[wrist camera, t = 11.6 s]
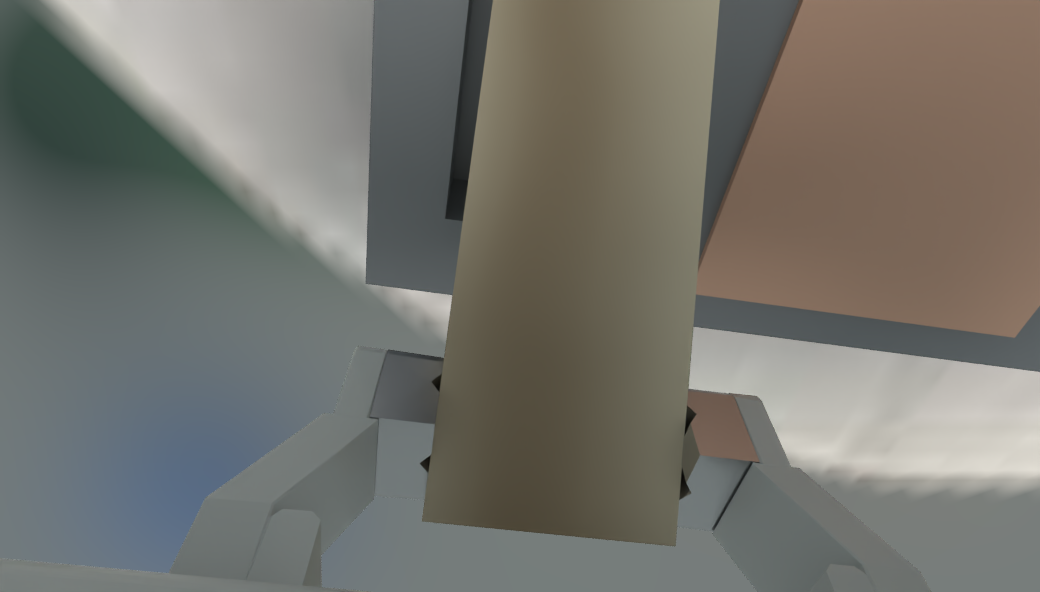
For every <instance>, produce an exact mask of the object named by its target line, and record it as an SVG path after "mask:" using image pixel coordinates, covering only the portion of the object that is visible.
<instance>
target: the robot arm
mask: <svg viewBox="0 0 1040 592" xmlns="http://www.w3.org/2000/svg"><path fill="white" fill-rule="evenodd" d="M443 362H444V358H441V357H434V356H428V355H421V354H414V353H408V352H400V351H394V350H388V351H387V350H384V349H377V348H371V347H364V346H357V348H356V349H355V351H354V353H353V356H352V359H351V362H350V365H349V368H348V371H347V374H346V377H345V380H344V383H343V386H342V389H341V392H340V395H339V398H338V401H337V404H336V407H335V410H334V413H333V414H328V413H324V414H322V415H321V416H319V417H318V418H317V419H315V420H314V421H312V422H311V423H310V424H308V425H307V426H306V427H304V428H303V429H301V430H300V431H299V432H297V433H296V434H294V435H293V436H291V437H290V438H289V439H287V440H286V441H284V442H283V443H282V444H280V445H279V446H277V447H276V448H275V449H273V450H272V451H270V452H269V453H268V454H266V455H265V456H263V457H262V458H261V459H259V460H258V461H256V462H255V463H254V464H252V465H251V466H249V467H248V468H247V469H245V470H244V471H242V472H241V473H240V474H238V475H237V476H236V477H234V478H233V479H231V480H230V481H228V482H227V483H225V484H224V485H223V486H221V487H220V488H218V489H217V490H216V491H214V492H213V493H211V494H210V495H209V496H207V497H206V498H205V500H204V502H203V504H202V506H201V508H200V510H199V512H198V514H197V516H196V518H195V520H194V522H193V524H192V526H191V528H190V530H189V533H188V534H187V536H186V539H185V541H184V543H183V545H182V547H181V549H180V551H179V553H178V555H177V557H176V559H175V561H174V563H173V565H172V567H171V569H170V572H169V573H158V572H146V571H136V570H124V569H113V568H101V567H90V566H80V565H69V564H58V563H47V562H35V561H24V560H13V559H2V558H0V592H368V591H358V590H357V591H356V590H346V589H335V588H323V587H322V583H321V582H322V579H321V577H322V576H321V555H322V554H323V553H324V552H325V551H326V550H327V549H328V547H330V545H331V544H332V543H333V542H334V541H335V540H336V539H337V538H338V537H339V536H340V535H341V534H342V533H343V532H344V530H345V529H346V528H347V527H348V526H349V525H350V524H351V523H352V522H353V521H354V520H355V519H356V518H357V516H358V515H359V514H360V513H361V512H362V511H363V510H364V509H365V508H366V507H367V506H368V505H369V504H370V503H371V502H372V500H373V499H374V496H378V497H391V498H404V499H417V500H425V494H426V487H427V480H428V472H429V465H430V458H431V453H432V447H433V440H434V433H435V426H436V419H437V412H438V404H439V396H440V393H439V392H440V384H441V377H442V370H443ZM681 465H682V472H681V485H680V497H679V509H678V522H677V527H682V528H689V529H697V530H704V531H712V532H713V533H712V534H713V535H714V537H715V538H716V539H717V541H718V542H719V543H720V544H721V546H722V547H723V548H724V550H725V551H726V552H727V553H728V555H729V556H730V557H731V559H732V560H733V561H734V562H735V563H736V565H737V566H738V568H739V569H740V570H741V571H742V573H743V574H744V575H745V576H746V578H747V579H748V580H749V581H750V583H751V584H752V585H753V586H754V588H755V589H756V590H757V592H931V590H930V588H929V587H928V585H927V583H926V581H925V579H924V578H923V576H922V574H921V572H920V571H919V570H918V569H917V568H916V567H914V566H913V565H912V564H911V563H910V562H909V561H907V560H906V559H905V558H904V557H903V556H901V555H900V554H899V553H898V552H897V551H896V550H894V549H893V548H892V547H891V546H890V545H889V544H887V543H886V542H885V541H884V540H883V539H881V538H880V537H879V536H878V535H877V534H876V533H875V532H873V531H872V530H871V529H870V528H869V527H867V526H866V525H865V524H864V523H863V522H862V521H861V520H859V519H858V518H857V517H856V516H855V515H854V514H852V513H851V512H850V511H849V510H848V509H847V508H845V507H844V506H843V505H842V504H841V503H839V502H838V501H837V500H836V499H835V498H834V497H832V496H831V495H830V494H829V493H828V492H827V491H825V490H824V489H823V488H822V487H821V486H820V485H818V484H817V483H816V482H815V481H814V480H813V479H811V478H810V477H809V476H808V475H807V474H806V473H804V472H803V471H802V470H801V469H800V468H794V467H791V465H790V463H789V461H788V459H787V457H786V454H785V452H784V450H783V448H782V445H781V443H780V441H779V439H778V436H777V434H776V432H775V430H774V427H773V425H772V423H771V421H770V419H769V416H768V414H767V412H766V410H765V407H764V405H763V403H762V401H761V400H760V399H759V398H758V397H757V396H751V395H741V394H732V393H729V394H726V393H719V392H711V391H702V390H694V389H688V398H687V411H686V423H685V435H684V439H683V451H682V463H681Z"/></svg>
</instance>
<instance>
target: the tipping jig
mask: <svg viewBox="0 0 1040 592" xmlns="http://www.w3.org/2000/svg"><path fill="white" fill-rule="evenodd" d="M492 4H493V0H374V26H373V59H372V92H371V125H370V158H369V191H368V224H367V257H366V284H372V285H380V286H387V287H395V288H402V289H410V290H418V291H425V292H433V293H441V294H448V295H453V289H454V282H455V275H456V267H457V260H458V253H459V245H460V238H461V231H462V223H463V216H464V209H465V201H466V194H467V187H468V179H469V172H470V165H471V157H472V150H473V143H474V135H475V128H476V121H477V113H478V106H479V99H480V91H481V84H482V77H483V69H484V62H485V55H486V48H487V40H488V33H489V26H490V18H491V11H492ZM693 327H701V328H709V329H716V330H724V331H732V332H739V333H747V334H755V335H762V336H770V337H778V338H785V339H793V340H800V341H808V342H816V343H823V344H831V345H839V346H846V347H854V348H862V349H869V350H877V351H885V352H892V353H900V354H908V355H915V356H923V357H931V358H938V359H946V360H954V361H961V362H969V363H977V364H984V365H992V366H999V367H1007V368H1015V369H1022V370H1030V371H1038V372H1040V0H720V4H719V16H718V28H717V41H716V53H715V65H714V78H713V90H712V102H711V115H710V127H709V139H708V152H707V164H706V176H705V189H704V201H703V213H702V226H701V238H700V250H699V263H698V275H697V287H696V300H695V312H694V324H693Z"/></svg>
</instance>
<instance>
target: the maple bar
mask: <svg viewBox="0 0 1040 592" xmlns="http://www.w3.org/2000/svg"><path fill="white" fill-rule="evenodd" d="M719 4H720V0H493V4H492V11H491V18H490V26H489V33H488V40H487V48H486V55H485V62H484V69H483V77H482V84H481V91H480V99H479V106H478V113H477V121H476V128H475V135H474V143H473V150H472V157H471V165H470V172H469V179H468V187H467V194H466V201H465V209H464V216H463V223H462V231H461V238H460V245H459V253H458V260H457V267H456V275H455V282H454V289H453V296H452V304H451V311H450V318H449V326H448V333H447V340H446V348H445V355H444V362H443V370H442V377H441V384H440V392H439V393H440V396H439V404H438V412H437V419H436V426H435V433H434V440H433V447H432V453H431V458H430V465H429V472H428V480H427V487H426V494H425V502H424V509H423V516H422V521H423V522H434V523H443V524H454V525H464V526H475V527H484V528H495V529H505V530H515V531H524V532H534V533H545V534H555V535H565V536H575V537H585V538H595V539H605V540H615V541H625V542H636V543H645V544H657V545H666V546H676V534H677V522H678V509H679V497H680V485H681V472H682V465H681V463H682V451H683V439H684V435H685V423H686V411H687V398H688V386H689V374H690V361H691V349H692V337H693V324H694V312H695V300H696V287H697V275H698V263H699V250H700V238H701V226H702V213H703V201H704V189H705V176H706V164H707V152H708V139H709V127H710V115H711V102H712V90H713V78H714V65H715V53H716V41H717V28H718V16H719Z"/></svg>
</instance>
